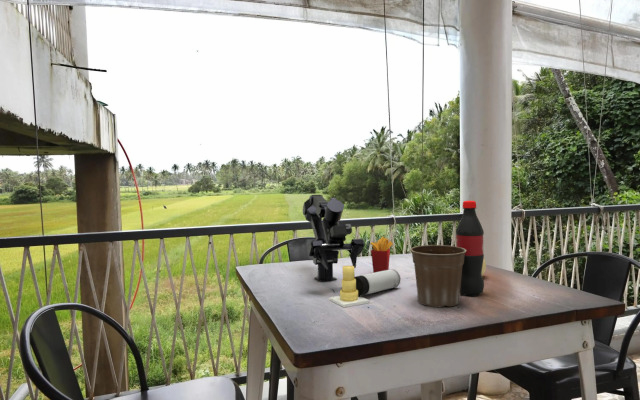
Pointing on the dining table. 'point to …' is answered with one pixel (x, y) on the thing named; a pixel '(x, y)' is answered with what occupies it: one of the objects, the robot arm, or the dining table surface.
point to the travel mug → (377, 281)
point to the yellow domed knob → (348, 285)
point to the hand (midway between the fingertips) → (341, 268)
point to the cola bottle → (471, 250)
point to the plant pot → (438, 274)
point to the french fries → (381, 255)
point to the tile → (349, 303)
